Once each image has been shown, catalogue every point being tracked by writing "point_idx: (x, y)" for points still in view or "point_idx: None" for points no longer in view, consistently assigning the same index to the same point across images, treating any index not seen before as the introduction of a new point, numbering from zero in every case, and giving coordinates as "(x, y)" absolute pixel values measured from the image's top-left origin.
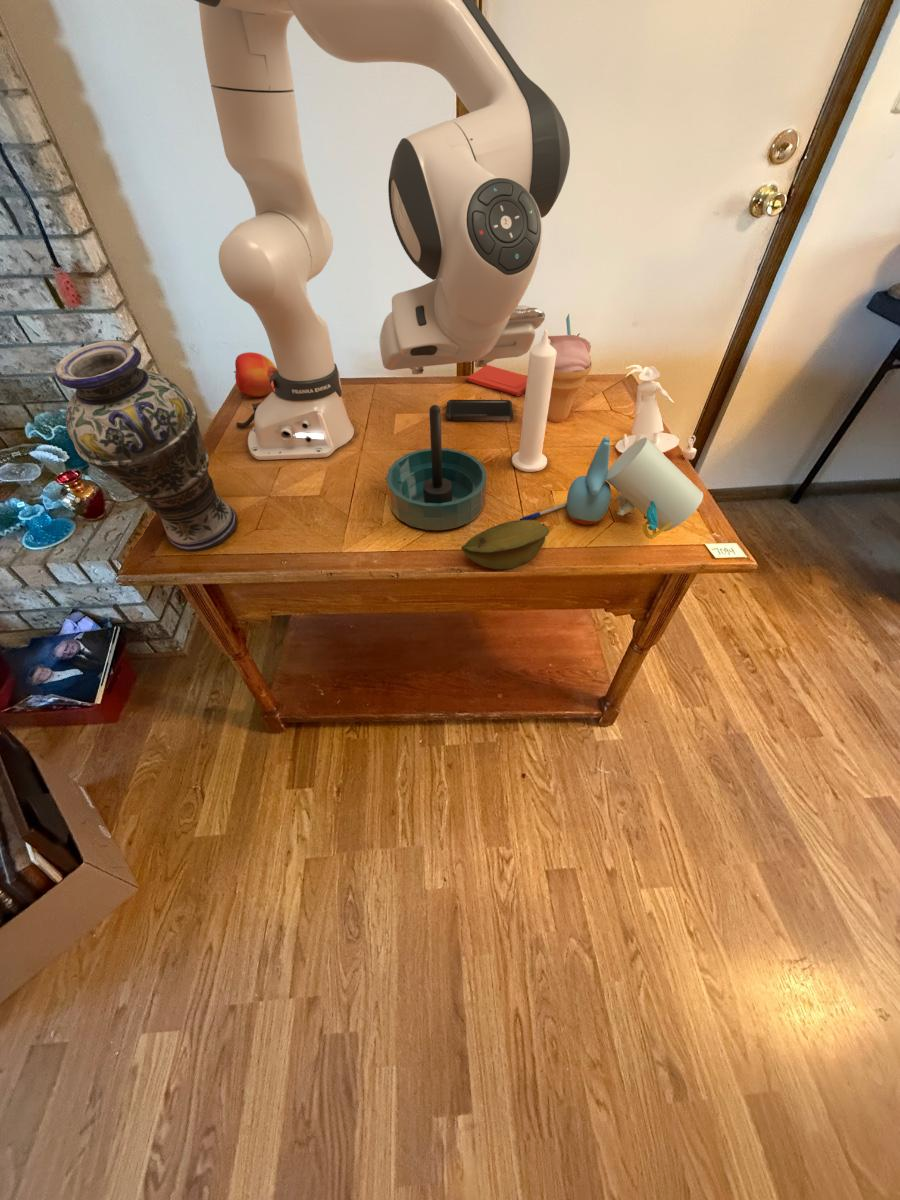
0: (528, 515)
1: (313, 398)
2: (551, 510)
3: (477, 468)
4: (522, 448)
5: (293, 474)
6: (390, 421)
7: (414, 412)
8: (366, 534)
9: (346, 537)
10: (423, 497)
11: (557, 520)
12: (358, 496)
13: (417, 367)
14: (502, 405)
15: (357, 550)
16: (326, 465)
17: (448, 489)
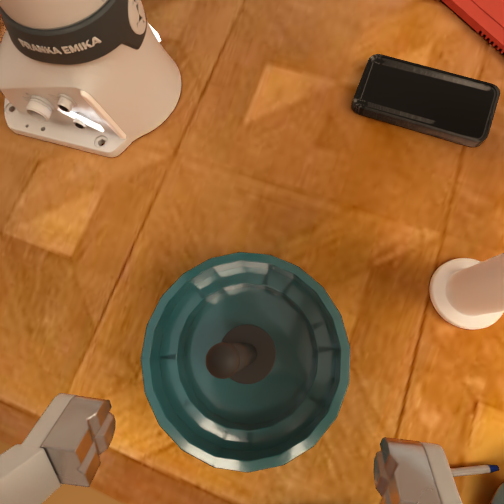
0: None
1: (66, 63)
2: (453, 476)
3: (338, 347)
4: (462, 293)
5: (51, 186)
6: (249, 84)
7: (300, 68)
8: (105, 392)
9: (73, 387)
10: None
11: None
12: (127, 283)
13: (50, 488)
14: (476, 99)
15: None
16: (107, 178)
17: (262, 375)
